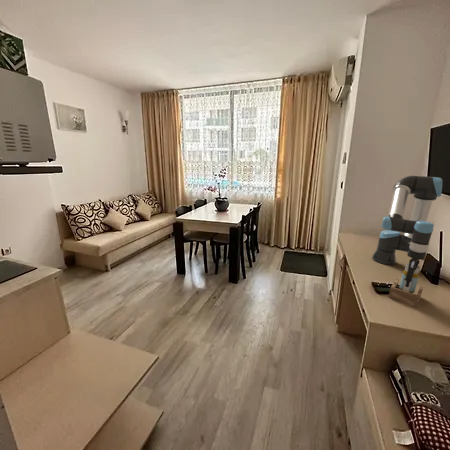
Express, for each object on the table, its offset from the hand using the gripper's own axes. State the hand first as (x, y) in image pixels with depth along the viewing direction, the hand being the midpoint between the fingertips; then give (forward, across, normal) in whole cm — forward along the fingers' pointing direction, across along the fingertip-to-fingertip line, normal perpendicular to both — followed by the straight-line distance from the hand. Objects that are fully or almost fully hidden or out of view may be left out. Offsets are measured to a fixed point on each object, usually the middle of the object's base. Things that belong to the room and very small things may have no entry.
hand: (406, 288), depth 136 cm
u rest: (+5, +1, 0) cm, 5 cm away
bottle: (+1, 0, 0) cm, 1 cm away
